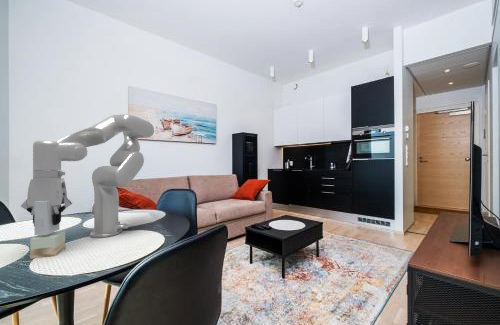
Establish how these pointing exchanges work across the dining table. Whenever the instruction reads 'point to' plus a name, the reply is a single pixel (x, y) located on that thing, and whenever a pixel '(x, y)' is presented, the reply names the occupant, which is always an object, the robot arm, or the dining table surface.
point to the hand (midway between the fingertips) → (47, 224)
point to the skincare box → (44, 218)
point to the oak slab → (47, 251)
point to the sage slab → (48, 240)
